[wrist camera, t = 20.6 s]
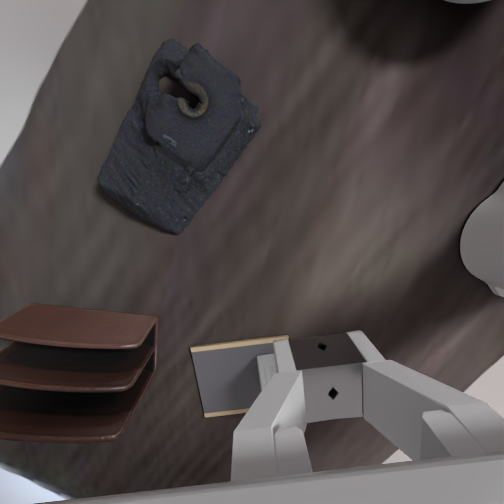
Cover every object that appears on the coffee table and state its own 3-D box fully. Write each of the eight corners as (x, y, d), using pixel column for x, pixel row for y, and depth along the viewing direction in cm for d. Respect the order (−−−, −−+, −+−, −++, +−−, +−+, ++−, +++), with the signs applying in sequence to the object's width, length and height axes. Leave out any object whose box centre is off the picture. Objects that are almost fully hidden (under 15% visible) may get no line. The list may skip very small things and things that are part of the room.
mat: (288, 334, 41) (288, 336, 41) (295, 404, 45) (295, 407, 44) (191, 346, 41) (190, 348, 41) (205, 415, 45) (204, 417, 44)
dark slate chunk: (87, 176, 35) (63, 175, 31) (175, 30, 31) (163, 3, 27) (179, 242, 38) (170, 249, 33) (271, 114, 34) (275, 102, 29)
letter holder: (157, 368, 43) (115, 453, 29) (36, 357, 42) (-67, 439, 28) (159, 315, 40) (115, 380, 27) (31, 301, 39) (-85, 362, 26)
